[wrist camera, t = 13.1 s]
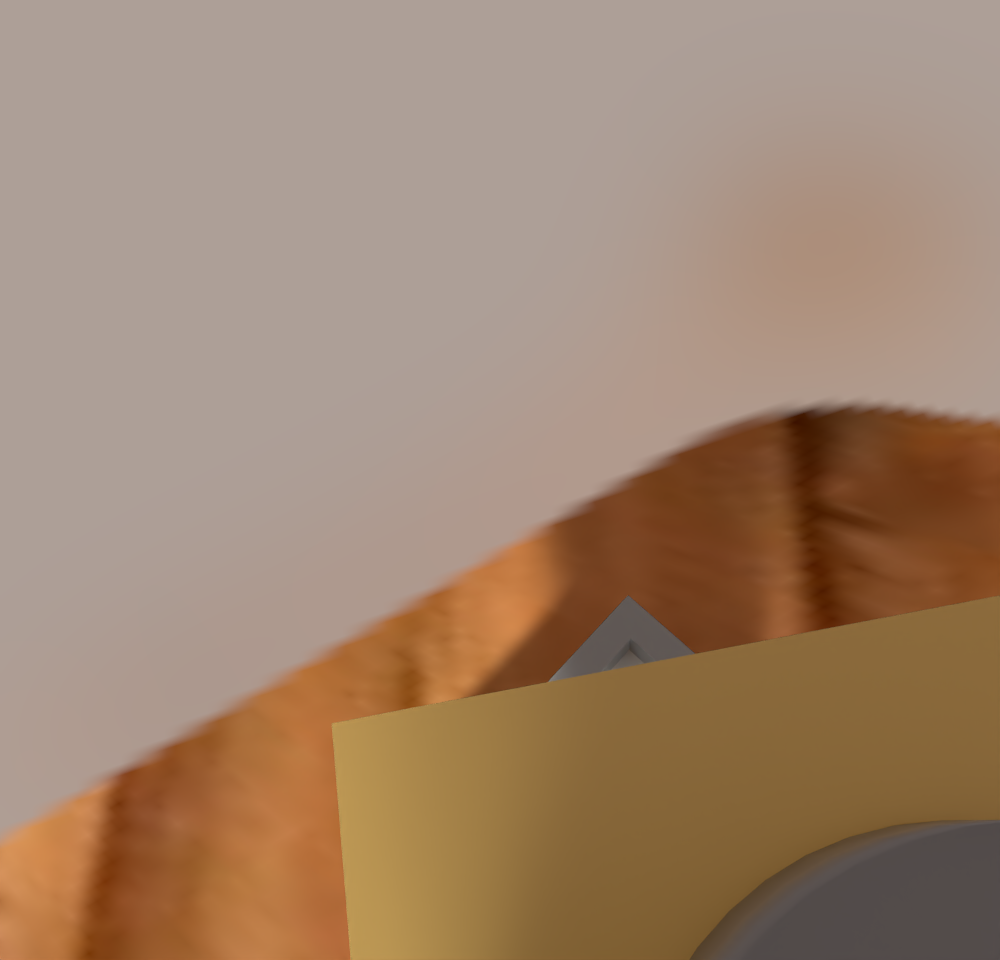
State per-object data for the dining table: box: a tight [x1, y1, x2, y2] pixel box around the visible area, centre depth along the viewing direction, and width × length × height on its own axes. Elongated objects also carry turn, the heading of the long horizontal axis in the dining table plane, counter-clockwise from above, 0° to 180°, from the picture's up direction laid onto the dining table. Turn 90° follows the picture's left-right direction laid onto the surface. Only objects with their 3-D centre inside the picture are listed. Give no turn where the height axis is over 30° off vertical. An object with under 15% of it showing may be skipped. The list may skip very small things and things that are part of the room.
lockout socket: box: [548, 596, 695, 682], centre depth 19 cm, size 10×10×2 cm
